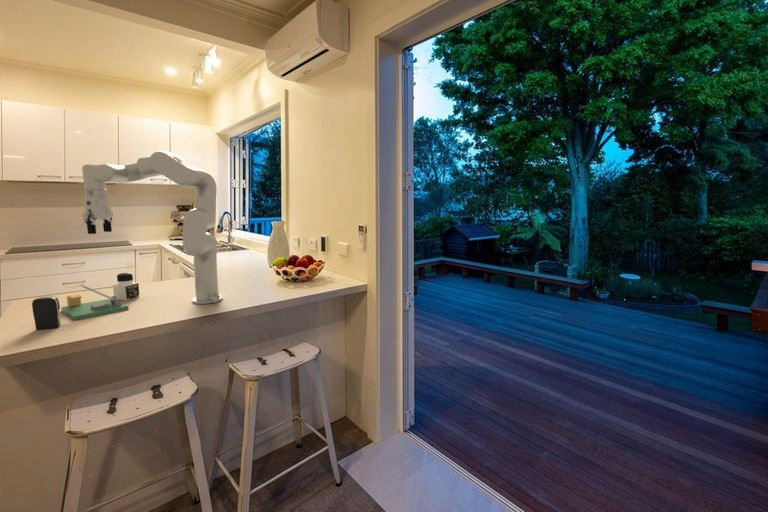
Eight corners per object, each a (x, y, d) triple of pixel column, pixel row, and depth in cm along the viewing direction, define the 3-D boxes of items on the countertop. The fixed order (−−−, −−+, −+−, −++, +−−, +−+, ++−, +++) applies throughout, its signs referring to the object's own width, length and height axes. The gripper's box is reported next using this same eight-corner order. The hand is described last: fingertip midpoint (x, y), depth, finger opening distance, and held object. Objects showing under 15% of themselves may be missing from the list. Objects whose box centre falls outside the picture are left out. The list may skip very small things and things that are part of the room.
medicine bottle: (127, 301, 170) (124, 275, 168) (113, 300, 172) (111, 274, 170) (140, 297, 177) (137, 272, 175) (127, 296, 179) (124, 271, 177)
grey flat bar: (117, 303, 158) (119, 300, 159) (82, 287, 148) (84, 284, 148) (115, 301, 160) (117, 298, 160) (80, 286, 150) (82, 283, 150)
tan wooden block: (84, 306, 155) (82, 296, 155) (71, 308, 152) (70, 298, 152) (79, 303, 159) (78, 293, 159) (67, 305, 156) (66, 295, 155)
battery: (63, 324, 138) (59, 294, 137) (59, 328, 135) (55, 297, 133) (39, 326, 136) (35, 296, 134) (34, 330, 132) (30, 299, 131)
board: (128, 309, 158) (127, 298, 157) (74, 320, 144) (73, 308, 143) (112, 301, 169) (111, 291, 168) (61, 310, 155) (60, 299, 154)
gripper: (90, 193, 154) (94, 234, 157) (117, 194, 171) (121, 231, 174) (71, 193, 154) (76, 234, 157) (101, 193, 171) (105, 230, 174)
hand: (100, 232), depth 165 cm, fingers open, 9 cm apart
